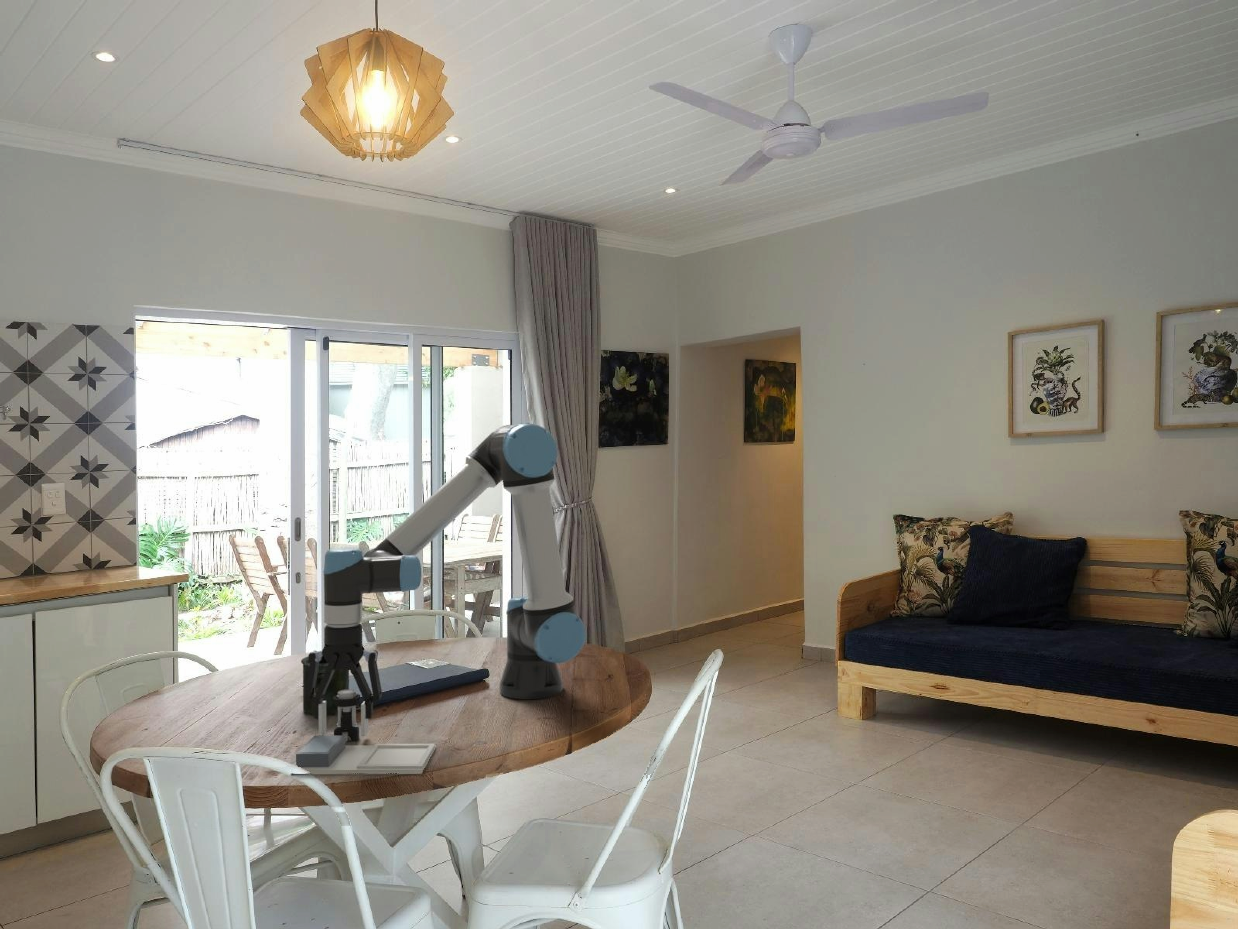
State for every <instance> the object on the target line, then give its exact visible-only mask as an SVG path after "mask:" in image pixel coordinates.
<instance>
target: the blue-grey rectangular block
mask: <svg viewBox="0 0 1238 929" xmlns="http://www.w3.org/2000/svg"><path fill="white" fill-rule="evenodd" d="M345 746H346V742H345V735H334V734H327V735H325V734H324V735H319V734H317V735H314V736H313V737H312V738H311V739H309V741H308V742H307V743H306V744H304V745H303V746H302V748H300V750H299V751H297V752H296V754H295V765H297V766H298V767H329V766H330V765H331V764H332V763H333V762H334V760H335V759H336V758H337V757H338V756H339V755H340V754H341V753H342V751H343V750H344V749H345Z"/></svg>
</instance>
